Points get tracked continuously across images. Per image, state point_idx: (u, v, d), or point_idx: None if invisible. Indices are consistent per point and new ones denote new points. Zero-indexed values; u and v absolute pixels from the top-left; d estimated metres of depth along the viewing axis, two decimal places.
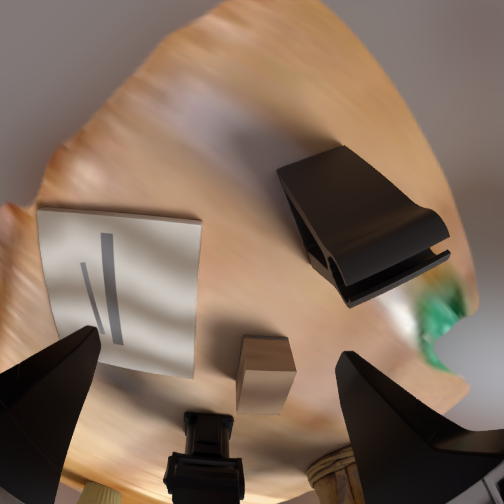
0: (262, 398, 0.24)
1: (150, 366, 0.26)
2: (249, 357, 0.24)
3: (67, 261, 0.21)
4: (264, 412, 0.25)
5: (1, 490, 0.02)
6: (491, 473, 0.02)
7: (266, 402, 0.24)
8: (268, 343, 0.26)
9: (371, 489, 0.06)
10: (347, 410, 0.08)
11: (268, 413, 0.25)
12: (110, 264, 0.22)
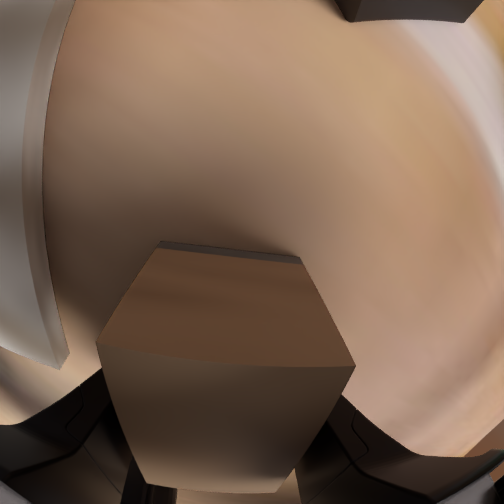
0: (212, 463, 0.06)
1: None
2: (142, 297, 0.05)
3: None
4: (227, 489, 0.07)
5: None
6: None
7: (226, 472, 0.06)
8: (234, 265, 0.08)
9: (308, 502, 0.05)
10: None
11: (240, 490, 0.07)
12: None
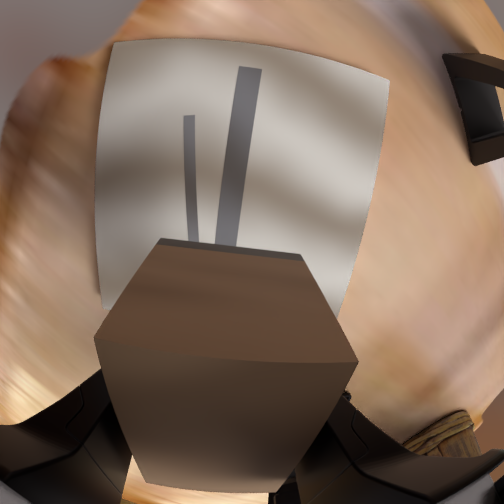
0: (212, 462, 0.06)
1: None
2: (141, 292, 0.05)
3: (156, 115, 0.13)
4: (227, 488, 0.06)
5: None
6: None
7: (227, 471, 0.06)
8: (235, 261, 0.08)
9: (308, 502, 0.05)
10: None
11: (240, 490, 0.07)
12: (247, 117, 0.13)
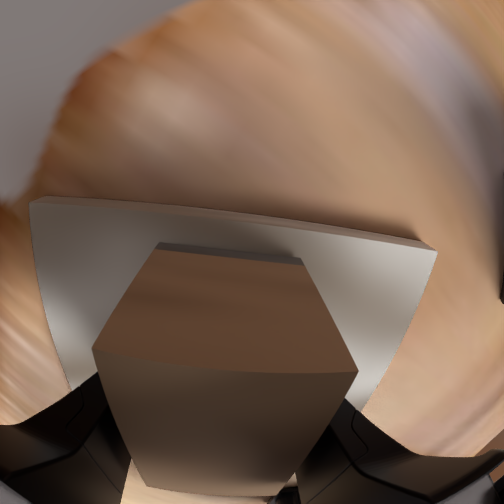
0: (212, 467, 0.05)
1: None
2: (139, 300, 0.05)
3: None
4: (227, 492, 0.06)
5: None
6: None
7: (226, 476, 0.06)
8: (234, 266, 0.08)
9: (308, 502, 0.05)
10: None
11: (240, 493, 0.07)
12: None
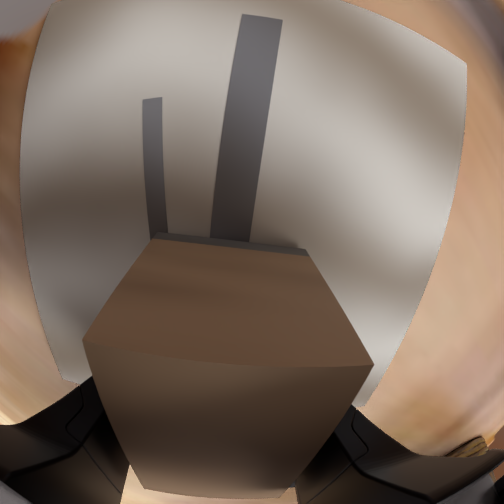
0: (213, 470, 0.05)
1: None
2: (135, 290, 0.05)
3: (99, 103, 0.07)
4: (229, 494, 0.06)
5: None
6: None
7: (229, 478, 0.05)
8: (236, 256, 0.07)
9: (308, 502, 0.05)
10: None
11: (242, 496, 0.06)
12: (258, 100, 0.07)
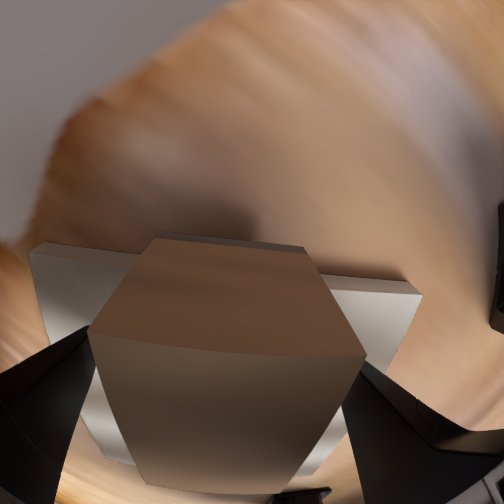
0: (213, 463, 0.05)
1: None
2: (138, 285, 0.05)
3: None
4: (229, 490, 0.06)
5: (1, 490, 0.02)
6: (491, 473, 0.02)
7: (229, 472, 0.06)
8: (235, 254, 0.07)
9: (371, 489, 0.06)
10: (347, 410, 0.08)
11: (243, 491, 0.06)
12: None
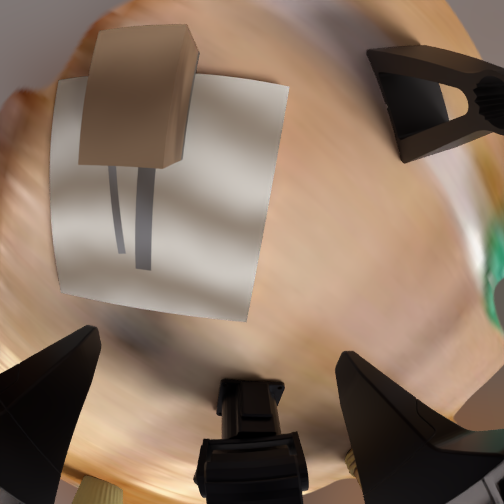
0: (122, 104, 0.10)
1: (186, 304, 0.20)
2: None
3: None
4: (128, 155, 0.11)
5: (1, 490, 0.02)
6: (491, 473, 0.02)
7: (129, 117, 0.10)
8: None
9: (371, 489, 0.06)
10: (347, 410, 0.08)
11: (136, 160, 0.11)
12: None
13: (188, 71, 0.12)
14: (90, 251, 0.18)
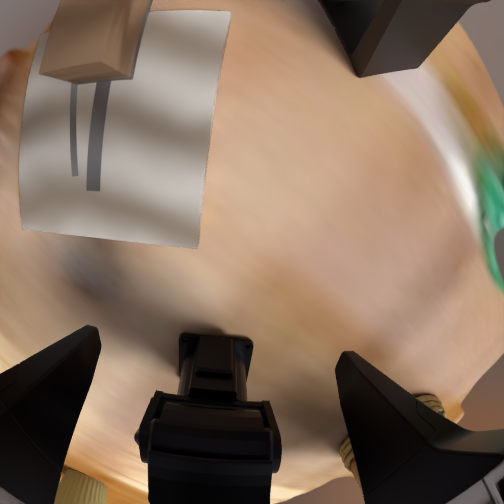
0: (78, 22, 0.08)
1: (133, 227, 0.18)
2: None
3: None
4: (76, 57, 0.09)
5: (1, 490, 0.02)
6: (491, 473, 0.02)
7: (81, 30, 0.09)
8: None
9: (371, 488, 0.06)
10: (347, 410, 0.08)
11: (82, 59, 0.09)
12: None
13: (138, 3, 0.10)
14: (48, 178, 0.16)
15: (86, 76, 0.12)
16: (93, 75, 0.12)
